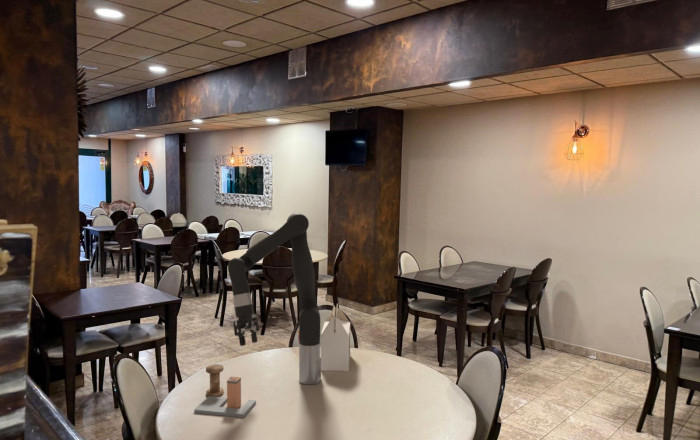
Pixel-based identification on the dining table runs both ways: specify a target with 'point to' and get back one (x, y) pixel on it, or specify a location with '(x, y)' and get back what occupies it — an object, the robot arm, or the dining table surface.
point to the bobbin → (214, 380)
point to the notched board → (215, 407)
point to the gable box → (335, 342)
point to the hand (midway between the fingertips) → (249, 344)
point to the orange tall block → (233, 392)
